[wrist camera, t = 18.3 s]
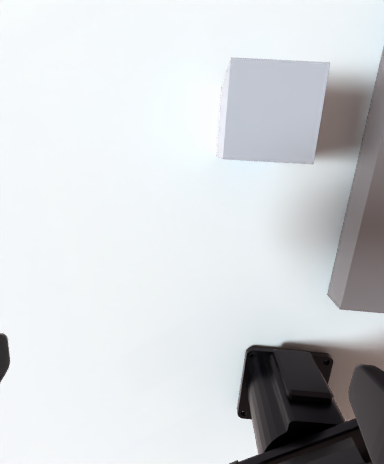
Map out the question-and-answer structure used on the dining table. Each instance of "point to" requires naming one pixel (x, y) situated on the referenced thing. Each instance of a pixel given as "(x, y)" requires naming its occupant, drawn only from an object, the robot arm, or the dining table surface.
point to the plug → (271, 110)
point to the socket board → (364, 221)
